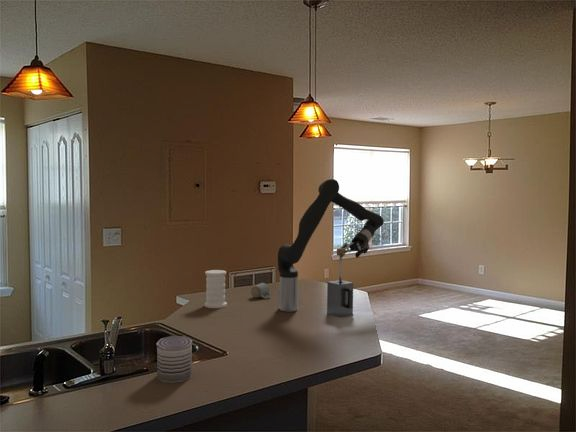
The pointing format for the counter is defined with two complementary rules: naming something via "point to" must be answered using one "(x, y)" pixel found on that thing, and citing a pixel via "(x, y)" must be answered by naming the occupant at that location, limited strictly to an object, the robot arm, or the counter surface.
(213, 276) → the decorative container
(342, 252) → the plunger
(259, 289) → the ceramic mug
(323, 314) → the counter surface
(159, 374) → the can
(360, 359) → the counter surface
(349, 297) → the square hole block
